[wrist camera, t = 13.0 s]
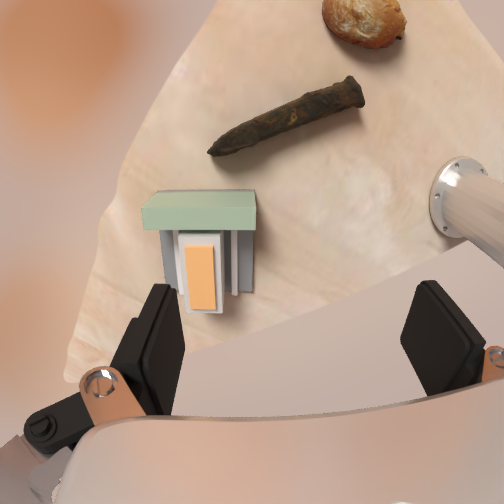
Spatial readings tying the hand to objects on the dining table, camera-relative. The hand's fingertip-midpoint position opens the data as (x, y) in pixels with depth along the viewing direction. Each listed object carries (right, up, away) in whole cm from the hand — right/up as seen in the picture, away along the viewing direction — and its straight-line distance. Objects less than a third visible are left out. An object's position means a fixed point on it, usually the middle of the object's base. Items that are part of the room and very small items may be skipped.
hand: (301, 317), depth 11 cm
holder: (-8, +2, +29) cm, 30 cm away
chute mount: (-8, +4, +29) cm, 30 cm away
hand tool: (+2, +18, +23) cm, 29 cm away
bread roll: (+12, +32, +16) cm, 37 cm away
